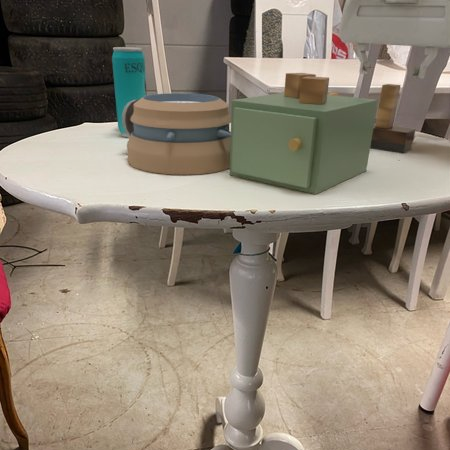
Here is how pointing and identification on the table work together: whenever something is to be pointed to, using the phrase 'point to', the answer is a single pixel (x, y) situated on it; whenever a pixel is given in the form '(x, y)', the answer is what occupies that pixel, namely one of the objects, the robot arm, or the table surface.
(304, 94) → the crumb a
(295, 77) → the wooden toy block
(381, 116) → the brush
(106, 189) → the table surface
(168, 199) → the table surface
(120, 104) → the beverage can
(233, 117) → the cabinet
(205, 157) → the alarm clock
